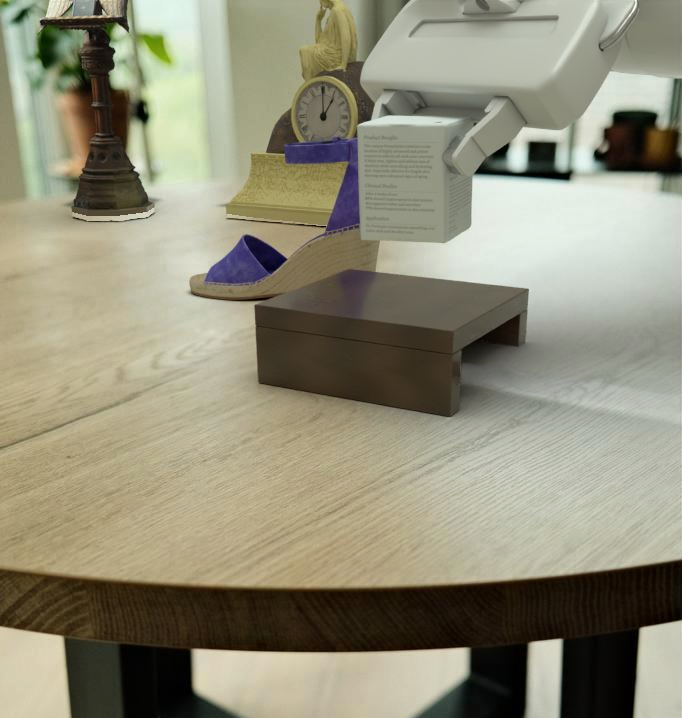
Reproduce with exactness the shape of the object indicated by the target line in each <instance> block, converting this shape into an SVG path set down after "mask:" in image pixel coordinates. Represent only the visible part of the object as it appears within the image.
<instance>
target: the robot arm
mask: <svg viewBox="0 0 682 718" xmlns="http://www.w3.org/2000/svg"><path fill="white" fill-rule="evenodd" d="M364 62H365V63H364V65H363V68H362V72H361V77H360V84H361V86H362V88H363V89H364V90H365V92H366V93H367V94H368V96H369V97H370V98H371V99H372V101H373V102H374V103H375V106H374V110H373V115H372V119H371V120H374V119H378V118H381V117H384V116H390V115H392V116H463V117H471V120H472V122H473V123H474V127H473V128H472V129H471V130H470V131H469V132H468V133H467V134H465V136H459V135H456V136H455V138H454V139H453V140H452V142H451V143H450V146H449V147H448V148H447V149H446V150H445V151H444V153H443V156H442V161H443V163H444V164H445V165H446V166H447V167H448V168H449V170H450V172H451V173H453V174H456V175H461V176H468V177H469V176H472V175H474V174H475V173H476V171H477V170H478V169H479V167H481V165H482V163H483V162H484V160H485V159H486V158H488V157H490V156H491V155H493V154H494V153H496V152H497V151H498V150H500V149H501V148H503V147H504V146H506V145H507V144H509V143H510V142H511V141H513V140H515V139H516V138H517V136H518V135H519V133H520V132H521V131H522V129H523V128H526V129H527V128H528V129H539V130H548V131H563V130H565V129H567V128H568V127H570V126H571V125H572V124H574V123H575V122H577V121H579V119H580V118H582V116H583V115H584V114H585V113H586V111H587V110H588V108H589V107H590V105H591V104H592V102H593V100H594V99H595V97H596V96H597V94H598V93H599V91H600V89H601V88H602V86H603V84H604V83H605V81H606V79H607V78H608V76H609V74H610V72H615V73H620V74H627V75H639V76H640V75H641V76H653V77H656V78H663V79H666V78H667V79H680V80H681V79H682V0H409V1H408V2H407V3H406V4H405V5H404V6H403V7H402V8H401V10H399V12H398V13H397V15H396V16H395V17H394V19H393V20H392V22H391V23H390V24H389V26H388V27H387V28H386V30H385V31H384V33H383V34H382V36H381V37H380V39H379V40H378V41H377V43H376V44H375V46H374V47H373V49H372V51H370V53H369V55H368V57H367V58H366V60H365V61H364Z"/></svg>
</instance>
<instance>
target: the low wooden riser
mask: <svg viewBox="0 0 682 718" xmlns="http://www.w3.org/2000/svg"><path fill="white" fill-rule="evenodd" d="M529 294H530V289H529V288H526V287H517V286H507V285H498V284H491V283H490V284H489V283H480V282H472V281H462V280H454V279H453V280H452V279H445V278H434V277H427V276H417V275H407V274H398V273H390V272H380V271H376V272H372V271H363V270H354V269H348V270H345V271H343V272H340V273H337V274H335V275H332V276H329V277H327V278H324V279H321V280H319V281H316V282H313V283H311V284H308V285H306V286H303V287H300V288H298V289H295V290H292V291H290V292H287V293H284V294H282V295H279V296H274V297H270V298H268V299H266V300H263V301H260V302H258V303H255V304H253V305H254V307H253V309H254V324H255V346H256V348H255V349H256V367H257V382H258V383H259V384H265V385H270V386H276V387H281V388H286V389H293V390H297V391H298V390H299V391H304V392H308V393H309V392H310V393H313V394H314V393H315V394H320V395H326V396H333V397H337V398H343V399H349V400H354V401H359V402H365V403H366V402H367V403H372V404H377V405H383V406H388V407H394V408H400V409H404V410H410V411H416V412H423V413H428V414H432V415H438V416H445V417H452V416H453V415H454V414H456V413H457V412H458V411H460V404H461V403H460V401H461V379H462V378H461V375H462V349H464V348H465V347H467V346H469V345H470V344H472V343H473V342H480V343H486V344H487V343H488V344H495V345H500V346H501V345H503V346H508V347H509V346H510V347H515V348H516V347H520V346H522V345H523V344H525V343H526V339H527V327H528V326H527V325H528V311H529V310H528V309H529Z"/></svg>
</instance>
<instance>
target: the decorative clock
mask: <svg viewBox="0 0 682 718" xmlns="http://www.w3.org/2000/svg"><path fill="white" fill-rule="evenodd" d="M318 1H319V5H320V7H319V10H318V12H317V13H316V15H315V16H316V17H315V25H314V26H315V27H314V39H315V43H314V44H313V43H312V44H311V43H310V44H304V45H301V46H300V47H299V50H298V54H299V58H300V66H301V76H302V78H303V80H304V82H303V83H302V84H301V86H299V88H298V90H297V91H296V92H295V95H294V97H293V100H292V103H291V107H290V108H289V109H287V110H286V111H284V113H283V114H282V115H280V117H279V118H278V120H277V121H276V123H275V124H274V126H273V128H272V131H271V133H270V138H269V140H268V145H267V147H266V150H262V151H257V152H251V153H250V169H249V175H248V178H247V179H246V182H245V183H244V185H243V187H242V188H241V190H240V191H239V192H238V193H236V194H235V196H233V198H232V199H231V200H230V201H229V202H228V203H225V213H226V214H232V215H239V216H246V217H253V218H264V219H271V220H282V221H293V222H301V223H308V224H318V225H327V224H328V221H329V219H330V216H331V213H332V210H333V207H334V205H335V202H336V199H337V196H338V193H339V190H340V187H341V184H342V181H343V178H344V175H345V172H346V168H347V165H348V162H336V163H335V164H286V162H285V152H284V145H285V144H289V143H300V142H311V140H312V139H313V138H331V137H340V138H341V140H343V139H353V138H357V126H358V125H359V124H361V123H364V122H367V121H371V119H372V115H373V110H374V106H375V103H374V102H373V101H372V99H371V98H370V97H369V96H368V94H367V93H366V92H365V90H364V89H363V88H362V86H361V84H360V77H361V72H362V68H363V65H364V63H365V61H364V60H363V61H362V60H357V59H358V58H357V56H358V50H359V49H358V48H359V47H358V43H359V42H358V41H359V40H358V33H357V26H356V25H357V24H356V22H355V18H354V16H353V13H352V11H351V9H350V8H349V7H348V6H347V5H346V4H345V3H344V2H343V1H342V0H318ZM328 9H329V11H330V12H329V16H327V18H326V20H325V21H326V22H325V27H324V28H323V27H322V20H323V19H324V17H325V15H326V12H327V10H328ZM324 142H327V141H324ZM226 214H225V215H226Z"/></svg>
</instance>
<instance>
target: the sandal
mask: <svg viewBox="0 0 682 718" xmlns="http://www.w3.org/2000/svg"><path fill="white" fill-rule="evenodd" d="M324 141H327V142H324ZM284 152H285V162H286V164H335V163H336V162H348V165H347V168H346V172H345V175H344V178H343V181H342V184H341V187H340V190H339V193H338V196H337V199H336V202H335V205H334V207H333V210H332V213H331V216H330V219H329V221H328V224H327V227H325V230H324V232H323V233H322V234H318V235H317V236H315V237H313V238H312V239H310V240H308V241H307V242H305V244H303V245H302V246H300V247H299V248H298V249H296V250H295V251H294V252H293V253H292V254H291V255H290V256H289V257H286V256H284V255H283V254H282V253H281V252H280V251H278V250H277V249H276V248H274V247H273V246H272V245H270V244H269V243H267V242H266V241H264V240H262V239H260V238H258V237H257V236H254V235H251V234H248V233H245V234H242V236H241V237H240V239H239V240H238V242H237V243H236V245H235V246H234V247H233V248H232V249H231V250H230V251H229V252H228V253H227V254H225V255H224V256H223V257H222V258H221V259H220V260H218V261H217V262H216V263H214V264H213V265H212V266H211V267H210V268H209V270H208V271H207V272H204V273H199V274H195V275H192V276H191V277H190V278H189V281H188V282H189V283H188V284H189V288H190V293H192V295H195V296H199V297H200V296H201V297H205V298H209V299H218V300H231V301H233V300H235V301H240V300H241V301H242V300H255V299H262V298H274V297H276V296H279V295H282V294H284V293H287V292H290V291H292V290H295V289H298V288H300V287H303V286H306V285H308V284H311V283H313V282H316V281H319V280H321V279H324V278H327V277H329V276H332V275H335V274H337V273H340V272H343V271H345V270H348V269H354V270H363V271H372V272H377V271H376V270H377V262H378V256H379V250H380V245H381V243H380V242H381V240H361V234H360V210H359V181H358V138H353V139H343V140H341V138H340V137H331V138H313V139H312V140H311V142H300V143H289V144H285V145H284Z"/></svg>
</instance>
